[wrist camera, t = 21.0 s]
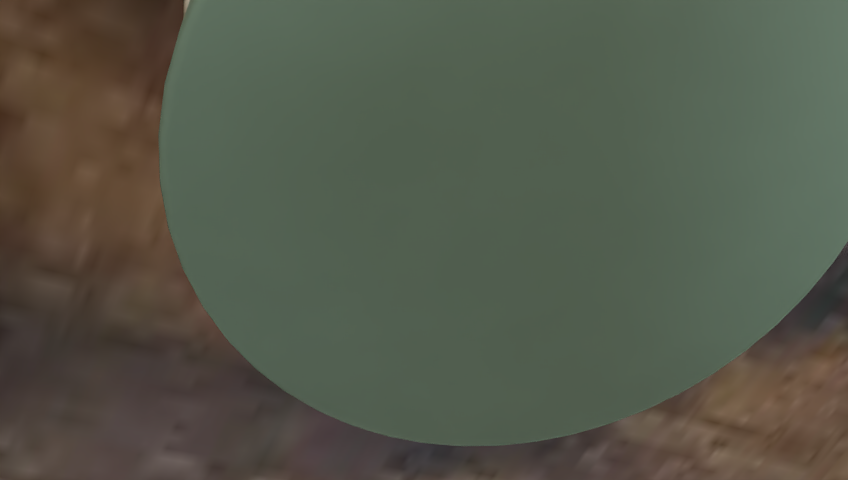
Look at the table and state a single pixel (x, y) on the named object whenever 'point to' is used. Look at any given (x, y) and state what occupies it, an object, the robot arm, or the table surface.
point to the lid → (503, 198)
